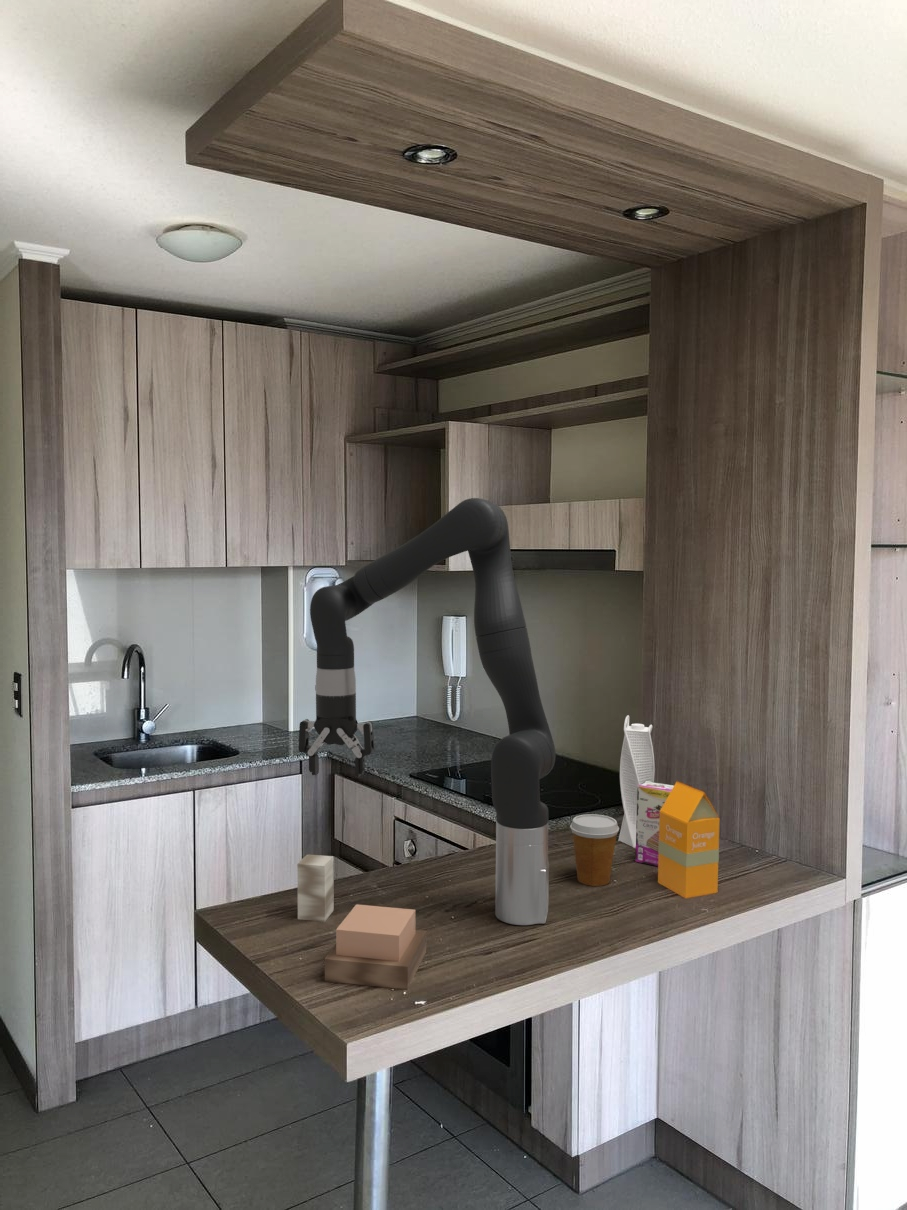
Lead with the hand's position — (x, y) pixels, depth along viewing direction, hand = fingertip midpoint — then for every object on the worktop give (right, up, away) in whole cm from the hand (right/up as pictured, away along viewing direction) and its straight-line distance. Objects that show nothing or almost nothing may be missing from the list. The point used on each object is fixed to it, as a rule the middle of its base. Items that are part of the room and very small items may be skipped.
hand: (336, 775), depth 180 cm
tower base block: (+10, -25, -31) cm, 41 cm away
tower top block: (+10, -21, -31) cm, 39 cm away
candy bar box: (+66, -22, +16) cm, 71 cm away
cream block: (-2, -23, -11) cm, 26 cm away
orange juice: (+67, -23, +3) cm, 71 cm away
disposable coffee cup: (+50, -22, +7) cm, 55 cm away
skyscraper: (+62, -20, +30) cm, 72 cm away
